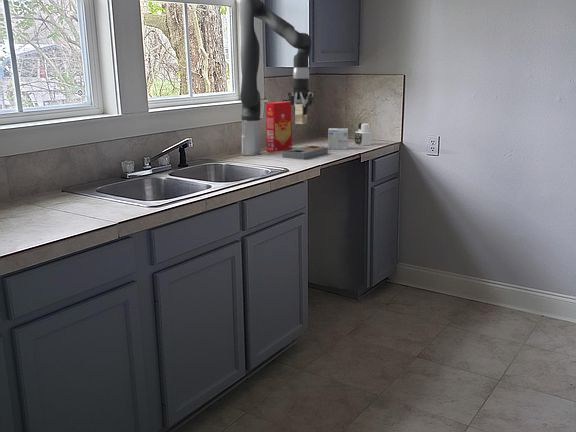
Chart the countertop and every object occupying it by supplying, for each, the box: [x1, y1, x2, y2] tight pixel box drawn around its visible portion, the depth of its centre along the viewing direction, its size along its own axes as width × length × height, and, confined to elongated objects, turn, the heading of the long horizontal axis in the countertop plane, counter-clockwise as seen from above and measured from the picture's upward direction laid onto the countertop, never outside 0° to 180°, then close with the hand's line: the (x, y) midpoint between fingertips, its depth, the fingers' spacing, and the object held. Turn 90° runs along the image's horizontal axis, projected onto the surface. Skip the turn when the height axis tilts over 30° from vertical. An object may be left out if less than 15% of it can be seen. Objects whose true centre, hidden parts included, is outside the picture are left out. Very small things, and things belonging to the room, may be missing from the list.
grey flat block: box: [282, 145, 329, 161], centre depth 287 cm, size 22×12×4 cm, turn 145°
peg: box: [294, 103, 308, 125], centre depth 279 cm, size 4×4×9 cm
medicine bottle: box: [354, 122, 373, 146], centre depth 329 cm, size 7×7×12 cm
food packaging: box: [265, 101, 293, 153], centre depth 307 cm, size 15×5×25 cm, turn 143°
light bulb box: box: [327, 127, 349, 150], centre depth 314 cm, size 11×7×11 cm, turn 84°
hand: (300, 114), depth 279 cm, fingers closed on peg, 4 cm apart
